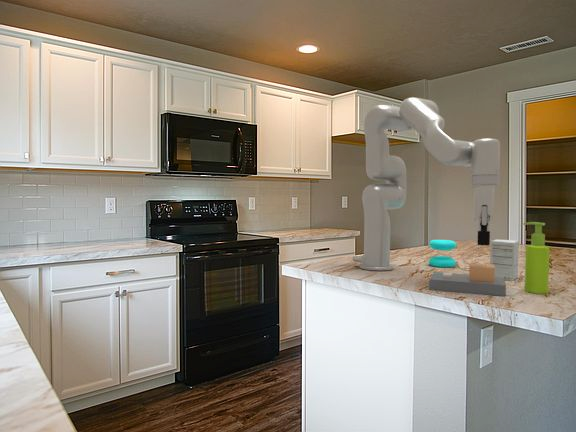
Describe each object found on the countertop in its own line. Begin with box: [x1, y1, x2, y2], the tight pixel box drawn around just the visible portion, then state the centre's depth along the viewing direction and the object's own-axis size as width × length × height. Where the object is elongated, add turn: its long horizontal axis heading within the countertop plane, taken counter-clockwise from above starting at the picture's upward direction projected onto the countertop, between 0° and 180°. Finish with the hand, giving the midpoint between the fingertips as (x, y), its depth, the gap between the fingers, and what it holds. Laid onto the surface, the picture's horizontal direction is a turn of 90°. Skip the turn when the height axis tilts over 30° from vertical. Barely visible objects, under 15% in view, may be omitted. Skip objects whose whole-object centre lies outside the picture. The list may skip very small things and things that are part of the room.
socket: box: [428, 271, 507, 297], centre depth 131 cm, size 20×14×4 cm
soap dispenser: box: [522, 221, 551, 295], centre depth 128 cm, size 6×7×20 cm
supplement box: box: [489, 238, 520, 282], centre depth 149 cm, size 7×7×13 cm
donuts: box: [428, 239, 457, 268], centre depth 174 cm, size 10×10×10 cm
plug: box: [468, 262, 495, 282], centre depth 130 cm, size 7×7×7 cm
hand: (483, 244), depth 129 cm, fingers closed
